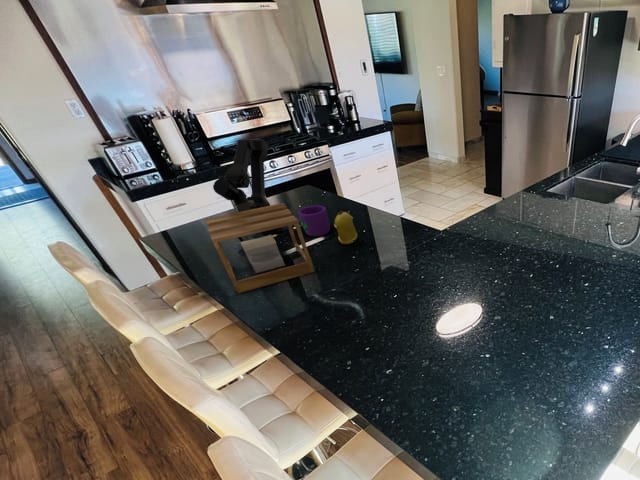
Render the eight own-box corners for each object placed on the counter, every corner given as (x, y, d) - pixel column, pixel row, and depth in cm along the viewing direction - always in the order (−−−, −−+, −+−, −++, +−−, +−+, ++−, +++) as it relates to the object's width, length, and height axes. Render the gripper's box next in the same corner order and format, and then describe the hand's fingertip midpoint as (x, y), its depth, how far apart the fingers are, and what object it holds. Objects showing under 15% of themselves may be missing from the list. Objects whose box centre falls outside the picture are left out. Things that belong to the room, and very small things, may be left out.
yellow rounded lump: (360, 247, 163) (351, 210, 153) (340, 250, 161) (330, 213, 151) (357, 236, 171) (349, 200, 161) (338, 239, 169) (328, 203, 159)
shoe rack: (228, 268, 152) (204, 218, 139) (299, 250, 162) (282, 202, 150) (237, 293, 137) (212, 240, 125) (314, 271, 148) (297, 220, 135)
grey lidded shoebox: (279, 254, 160) (271, 234, 154) (288, 270, 149) (280, 249, 144) (249, 262, 155) (240, 242, 150) (256, 278, 145) (247, 258, 140)
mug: (336, 232, 175) (330, 209, 168) (312, 240, 169) (305, 217, 162) (318, 221, 184) (311, 199, 178) (294, 229, 178) (287, 206, 172)
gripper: (208, 198, 142) (226, 239, 142) (264, 188, 149) (281, 226, 149) (216, 214, 152) (233, 251, 152) (267, 203, 160) (283, 239, 160)
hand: (257, 242), depth 153 cm, fingers open, 9 cm apart
